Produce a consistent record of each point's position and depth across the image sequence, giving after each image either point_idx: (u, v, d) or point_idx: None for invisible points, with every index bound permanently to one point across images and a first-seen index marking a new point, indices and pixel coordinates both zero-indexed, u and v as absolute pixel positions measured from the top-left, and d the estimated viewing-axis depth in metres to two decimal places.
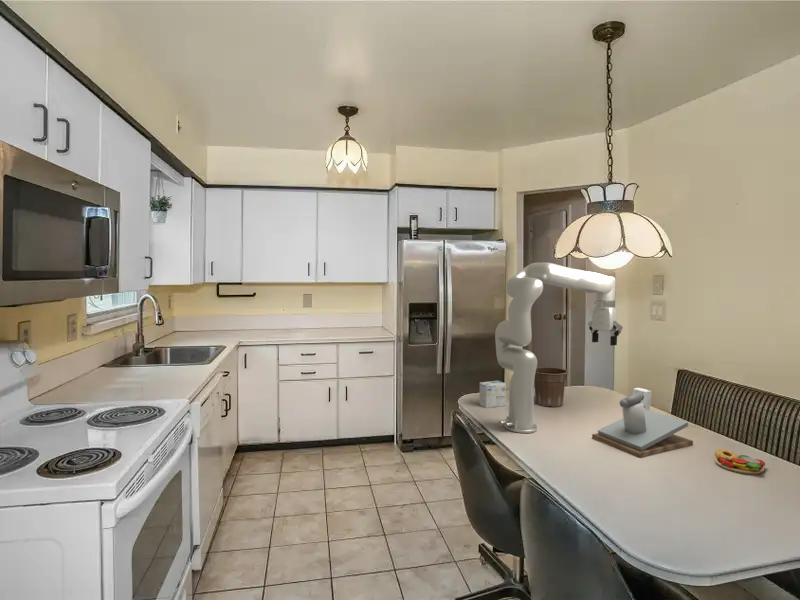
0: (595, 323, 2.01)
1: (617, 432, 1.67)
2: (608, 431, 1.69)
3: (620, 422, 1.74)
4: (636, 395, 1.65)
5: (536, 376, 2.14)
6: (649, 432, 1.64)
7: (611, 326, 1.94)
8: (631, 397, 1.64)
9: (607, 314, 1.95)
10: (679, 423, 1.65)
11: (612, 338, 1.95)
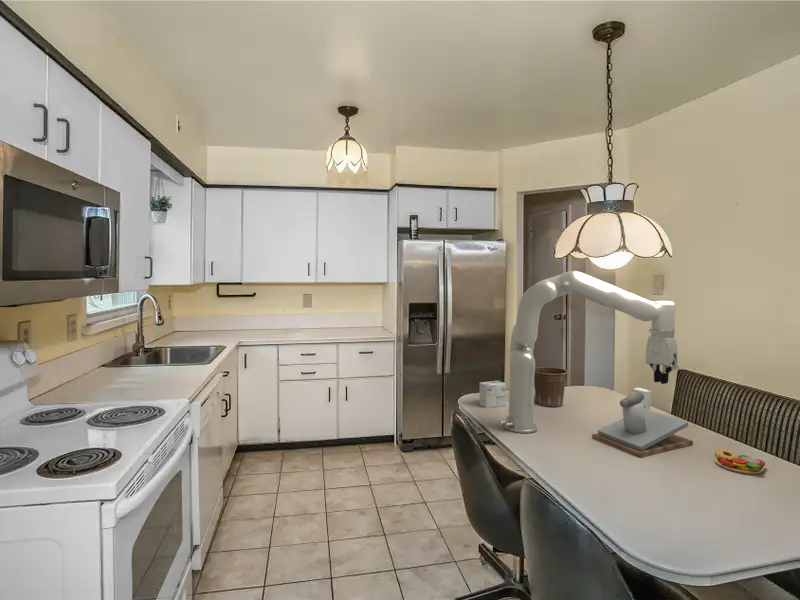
0: (650, 355, 1.72)
1: (617, 432, 1.67)
2: (608, 431, 1.69)
3: (620, 422, 1.74)
4: (636, 395, 1.65)
5: (536, 376, 2.14)
6: (649, 432, 1.64)
7: (671, 360, 1.66)
8: (631, 397, 1.64)
9: (666, 346, 1.66)
10: (679, 423, 1.65)
11: (663, 375, 1.69)
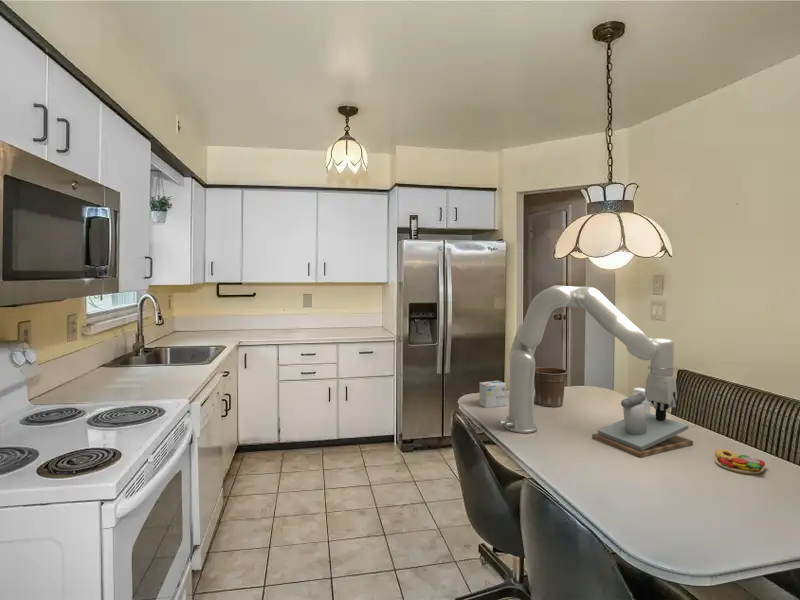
0: (650, 393, 1.73)
1: (617, 432, 1.67)
2: (608, 431, 1.69)
3: (621, 423, 1.74)
4: (637, 396, 1.66)
5: (536, 376, 2.14)
6: (649, 433, 1.64)
7: (670, 398, 1.67)
8: (632, 397, 1.65)
9: (665, 385, 1.67)
10: (679, 426, 1.66)
11: (660, 412, 1.71)
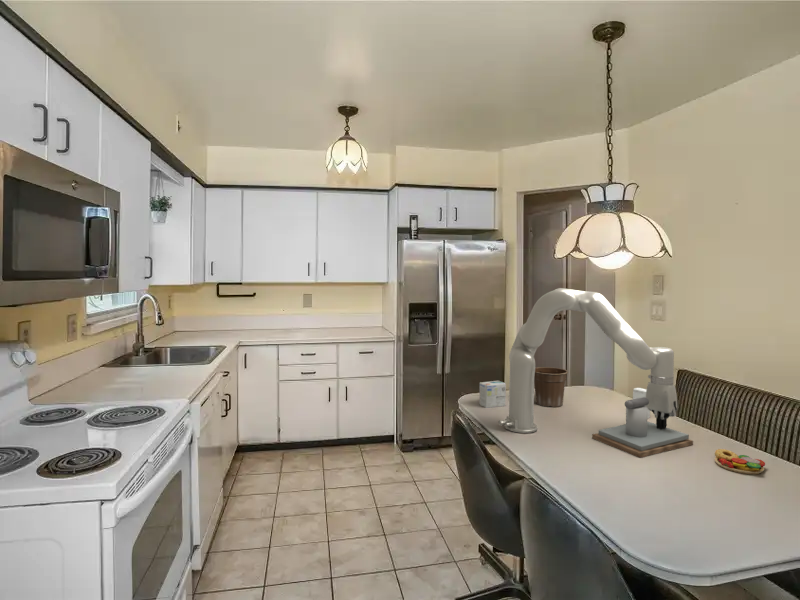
0: (650, 401, 1.73)
1: (618, 433, 1.68)
2: (609, 432, 1.69)
3: (621, 427, 1.74)
4: (641, 399, 1.67)
5: (536, 376, 2.14)
6: (650, 437, 1.64)
7: (671, 408, 1.67)
8: (636, 400, 1.66)
9: (666, 394, 1.68)
10: (680, 434, 1.66)
11: (661, 421, 1.71)
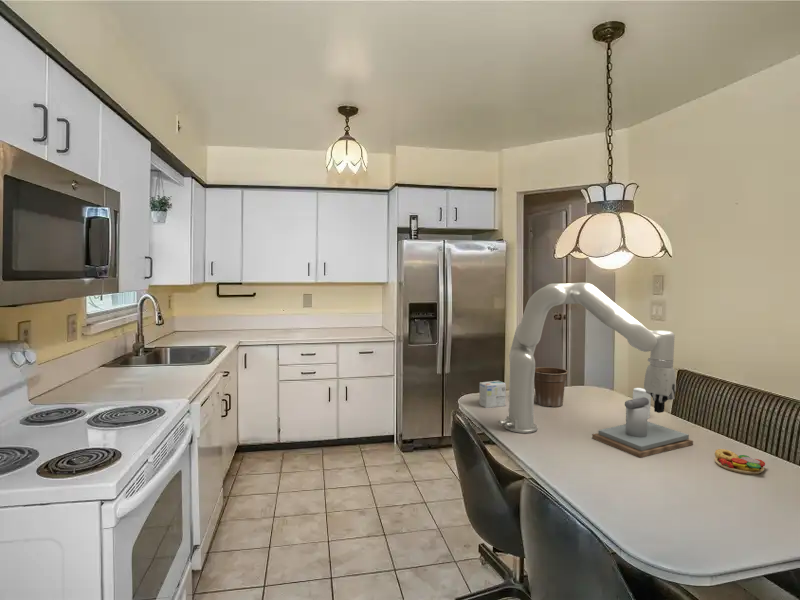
0: (649, 384, 1.73)
1: (618, 433, 1.68)
2: (609, 432, 1.69)
3: (621, 427, 1.74)
4: (641, 399, 1.67)
5: (536, 376, 2.14)
6: (650, 437, 1.64)
7: (669, 390, 1.66)
8: (636, 400, 1.66)
9: (665, 377, 1.67)
10: (680, 434, 1.66)
11: (659, 404, 1.71)
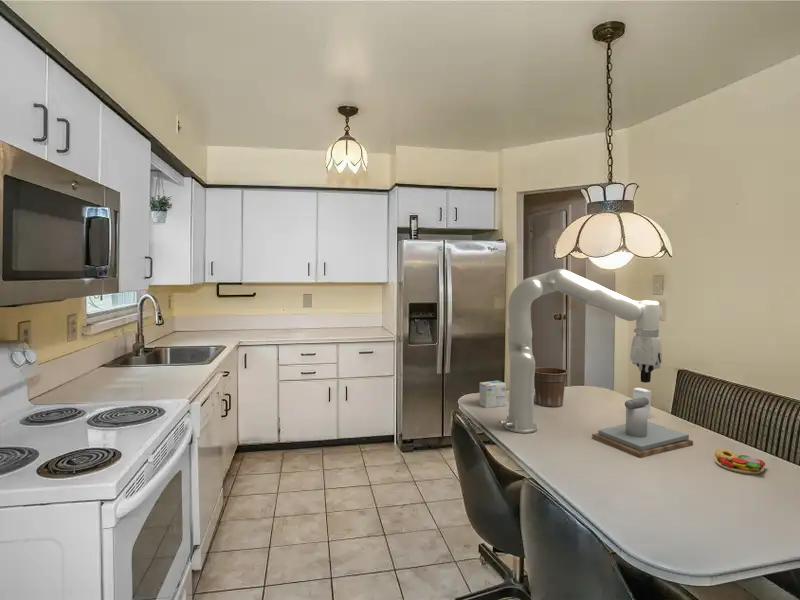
0: (635, 355, 1.73)
1: (618, 433, 1.68)
2: (609, 432, 1.69)
3: (621, 427, 1.74)
4: (641, 399, 1.67)
5: (536, 376, 2.14)
6: (650, 437, 1.64)
7: (655, 359, 1.67)
8: (636, 400, 1.66)
9: (650, 346, 1.67)
10: (680, 434, 1.66)
11: (645, 374, 1.71)
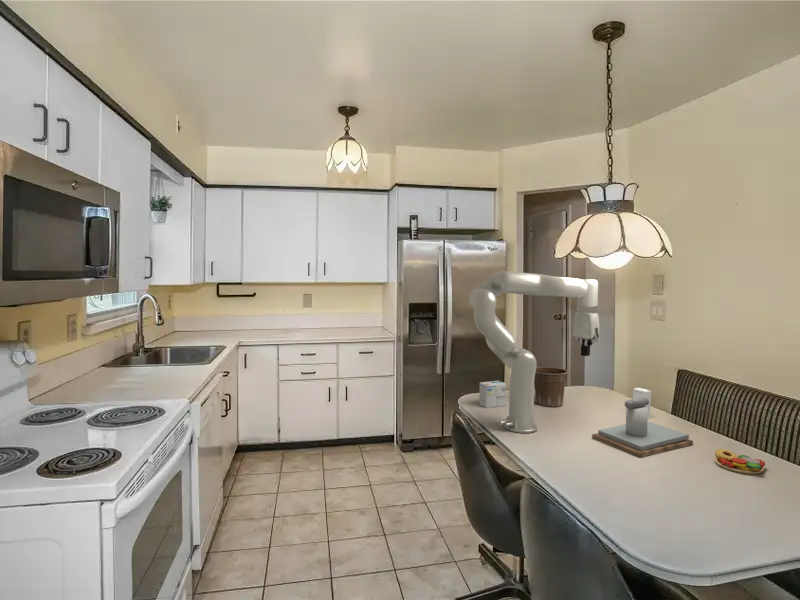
0: (576, 330, 1.85)
1: (618, 433, 1.68)
2: (609, 432, 1.69)
3: (621, 427, 1.74)
4: (641, 399, 1.67)
5: (536, 376, 2.14)
6: (650, 437, 1.64)
7: (592, 334, 1.78)
8: (636, 400, 1.66)
9: (588, 321, 1.79)
10: (680, 434, 1.66)
11: (585, 348, 1.83)
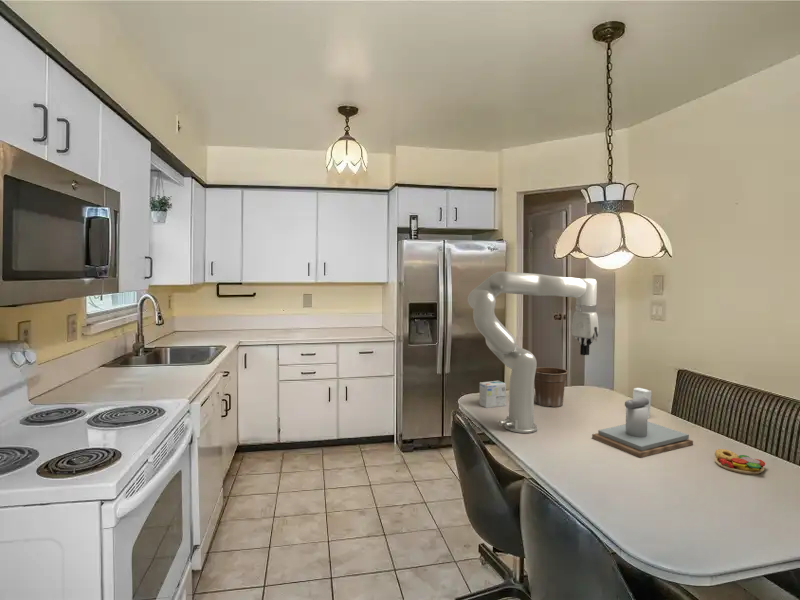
0: (575, 329, 1.85)
1: (618, 433, 1.68)
2: (609, 432, 1.69)
3: (621, 427, 1.74)
4: (641, 399, 1.67)
5: (536, 376, 2.14)
6: (650, 437, 1.64)
7: (592, 333, 1.79)
8: (636, 400, 1.66)
9: (587, 320, 1.79)
10: (680, 434, 1.66)
11: (584, 347, 1.83)
